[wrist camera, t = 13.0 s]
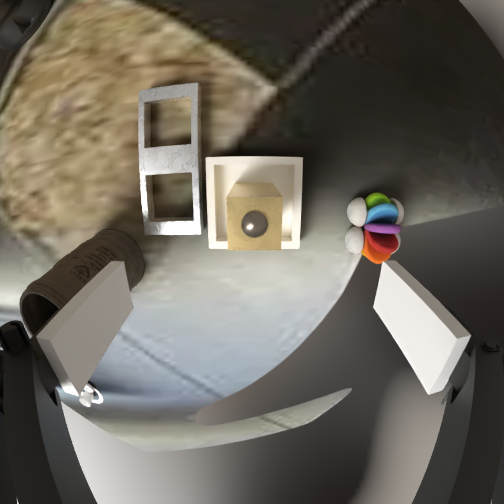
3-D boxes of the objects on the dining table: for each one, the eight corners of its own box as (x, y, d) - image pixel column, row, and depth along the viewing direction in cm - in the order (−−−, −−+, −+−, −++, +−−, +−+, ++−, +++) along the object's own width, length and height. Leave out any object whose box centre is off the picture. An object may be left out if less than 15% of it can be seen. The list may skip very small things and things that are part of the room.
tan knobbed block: (234, 182, 35) (225, 197, 24) (273, 182, 35) (283, 197, 24) (235, 219, 37) (227, 251, 26) (272, 219, 37) (281, 251, 26)
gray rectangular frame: (145, 93, 31) (139, 90, 29) (201, 86, 31) (197, 82, 29) (151, 230, 38) (145, 235, 36) (204, 229, 38) (200, 234, 36)
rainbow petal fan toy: (340, 253, 40) (356, 274, 33) (345, 188, 36) (365, 197, 29) (389, 252, 39) (411, 271, 33) (396, 192, 36) (422, 201, 29)
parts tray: (208, 157, 35) (205, 157, 32) (299, 157, 35) (302, 157, 32) (211, 242, 39) (209, 248, 36) (296, 242, 39) (299, 248, 36)
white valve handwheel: (84, 375, 51) (77, 387, 47) (109, 395, 53) (104, 407, 49) (73, 386, 53) (67, 396, 49) (97, 404, 55) (91, 415, 51)
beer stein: (95, 214, 37) (9, 273, 19) (152, 239, 39) (83, 319, 21) (86, 289, 43) (27, 359, 25) (135, 312, 44) (87, 397, 27)
